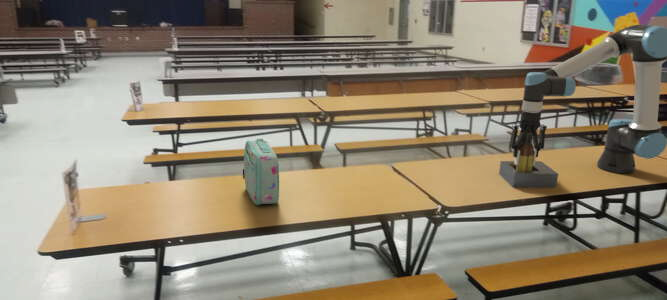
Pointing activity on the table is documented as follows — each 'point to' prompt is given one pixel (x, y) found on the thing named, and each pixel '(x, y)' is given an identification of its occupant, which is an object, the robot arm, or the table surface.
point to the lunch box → (261, 172)
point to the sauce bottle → (526, 154)
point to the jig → (529, 175)
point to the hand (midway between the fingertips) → (524, 164)
